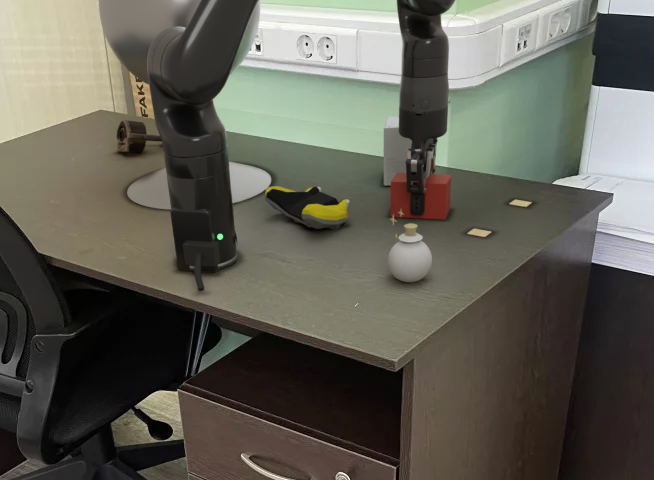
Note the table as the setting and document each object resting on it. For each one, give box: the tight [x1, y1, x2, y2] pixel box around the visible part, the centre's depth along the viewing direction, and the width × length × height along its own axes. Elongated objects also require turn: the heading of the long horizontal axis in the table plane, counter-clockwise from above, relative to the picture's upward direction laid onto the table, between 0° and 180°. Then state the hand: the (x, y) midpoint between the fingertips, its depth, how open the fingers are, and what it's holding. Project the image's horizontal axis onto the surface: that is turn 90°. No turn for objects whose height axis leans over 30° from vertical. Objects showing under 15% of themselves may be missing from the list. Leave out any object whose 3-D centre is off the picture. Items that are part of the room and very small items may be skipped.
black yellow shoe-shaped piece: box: [264, 185, 350, 230], centre depth 142 cm, size 15×6×10 cm
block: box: [390, 173, 452, 221], centre depth 142 cm, size 4×9×6 cm, turn 70°
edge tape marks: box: [466, 199, 533, 238], centre depth 139 cm, size 17×3×1 cm, turn 141°
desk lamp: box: [98, 0, 272, 211], centre depth 153 cm, size 28×28×45 cm
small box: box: [383, 115, 412, 187], centre depth 156 cm, size 8×6×10 cm
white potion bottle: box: [387, 211, 433, 283], centre depth 119 cm, size 6×8×10 cm
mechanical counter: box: [116, 119, 162, 153], centre depth 186 cm, size 7×13×10 cm
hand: (420, 208), depth 143 cm, fingers closed on block, 4 cm apart
